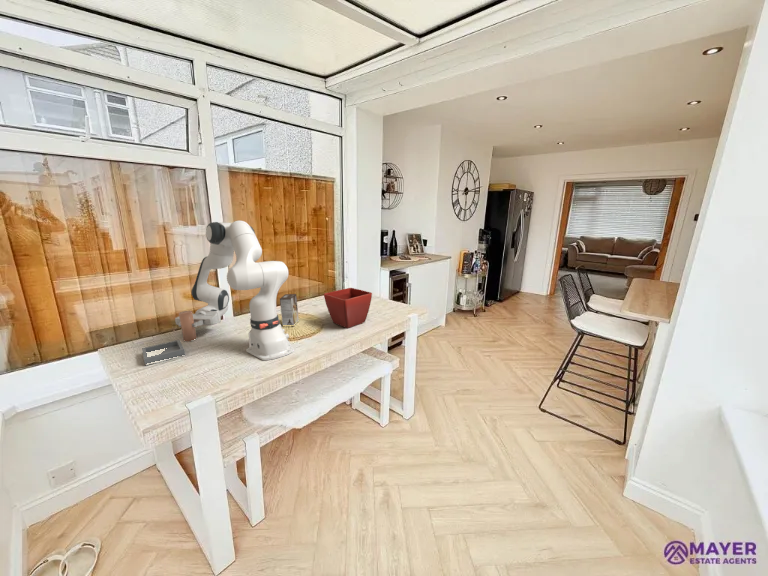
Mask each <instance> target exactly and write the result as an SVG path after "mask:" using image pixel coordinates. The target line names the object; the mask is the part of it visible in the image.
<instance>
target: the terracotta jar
mask: <svg viewBox="0 0 768 576" xmlns="http://www.w3.org/2000/svg"><path fill="white" fill-rule="evenodd" d="M193 314H194V313H193V311H192V310H184V311H180V312H178V317H179V318H180V323H181V332H182V338H183V341H184V340H185V341H190V342H192V341H191V340H194V339H196V338H197V339H198V336H197V331H196V327H192V323H194V319H193ZM197 339H196V340H197ZM185 341H184V342H185ZM194 341H195V340H194Z"/></svg>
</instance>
